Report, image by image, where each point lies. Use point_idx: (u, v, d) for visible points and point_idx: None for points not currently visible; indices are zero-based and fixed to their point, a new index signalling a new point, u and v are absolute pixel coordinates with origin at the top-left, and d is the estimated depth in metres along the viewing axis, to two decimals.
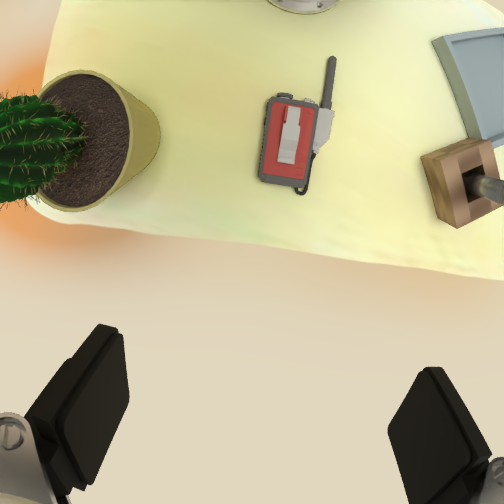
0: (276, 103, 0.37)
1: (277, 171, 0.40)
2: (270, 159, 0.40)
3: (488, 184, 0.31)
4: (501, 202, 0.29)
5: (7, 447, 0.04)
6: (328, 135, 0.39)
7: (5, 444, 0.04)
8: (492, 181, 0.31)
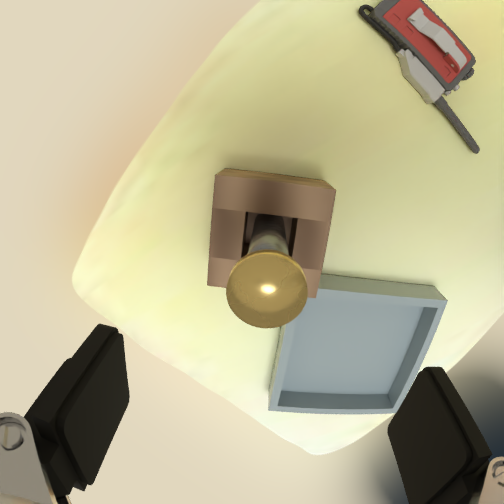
0: (469, 57, 0.23)
1: (405, 2, 0.22)
2: (421, 7, 0.21)
3: (284, 247, 0.23)
4: None
5: (8, 447, 0.04)
6: (414, 75, 0.25)
7: (5, 444, 0.04)
8: None
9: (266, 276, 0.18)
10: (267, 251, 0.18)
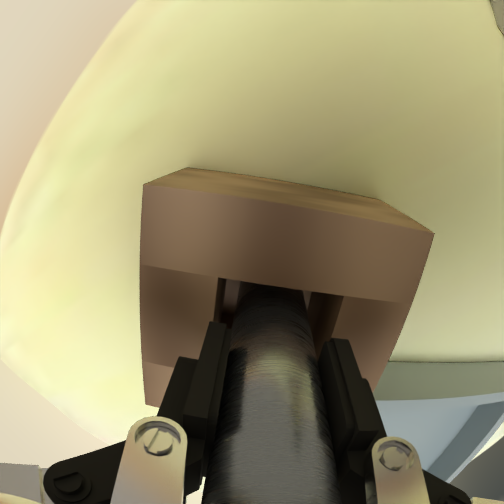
0: None
1: None
2: None
3: (323, 420, 0.07)
4: None
5: (150, 450, 0.05)
6: None
7: (148, 445, 0.05)
8: None
9: None
10: None
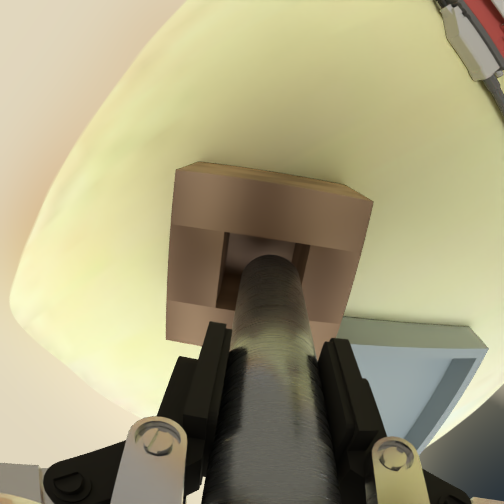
0: None
1: None
2: None
3: (323, 420, 0.07)
4: None
5: (150, 450, 0.05)
6: (464, 38, 0.15)
7: (148, 446, 0.05)
8: None
9: None
10: None
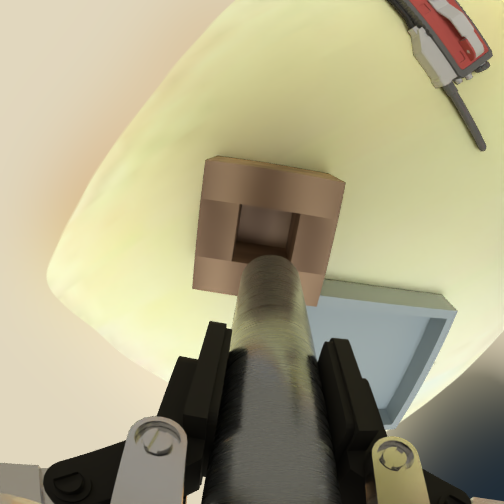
0: (486, 49, 0.20)
1: None
2: None
3: (323, 420, 0.07)
4: None
5: (150, 450, 0.05)
6: (425, 53, 0.21)
7: (148, 446, 0.05)
8: None
9: None
10: None
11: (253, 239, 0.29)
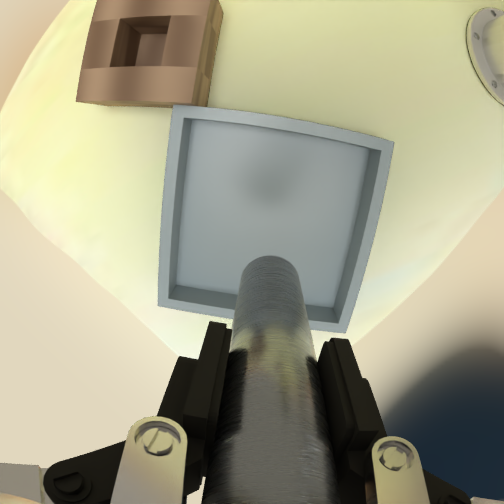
0: None
1: None
2: None
3: (323, 421, 0.07)
4: None
5: (150, 450, 0.05)
6: None
7: (148, 445, 0.05)
8: (331, 444, 0.07)
9: None
10: None
11: None
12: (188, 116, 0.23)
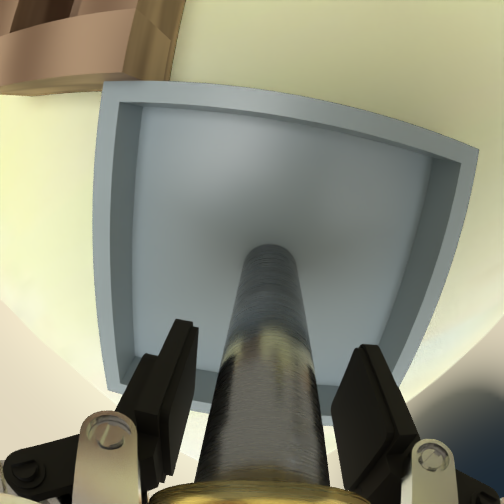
0: None
1: None
2: None
3: (310, 375, 0.08)
4: (244, 437, 0.06)
5: (103, 444, 0.05)
6: None
7: (102, 440, 0.05)
8: (318, 397, 0.08)
9: None
10: (265, 500, 0.04)
11: None
12: (127, 99, 0.12)
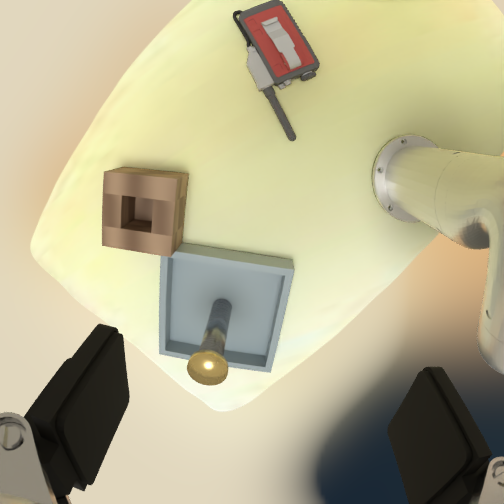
0: (311, 62, 0.35)
1: (270, 12, 0.32)
2: (282, 17, 0.32)
3: (222, 339, 0.39)
4: (206, 347, 0.36)
5: (7, 447, 0.04)
6: (249, 66, 0.36)
7: (5, 444, 0.04)
8: (224, 344, 0.39)
9: (206, 363, 0.34)
10: (206, 351, 0.34)
11: (143, 217, 0.44)
12: None
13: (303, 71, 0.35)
